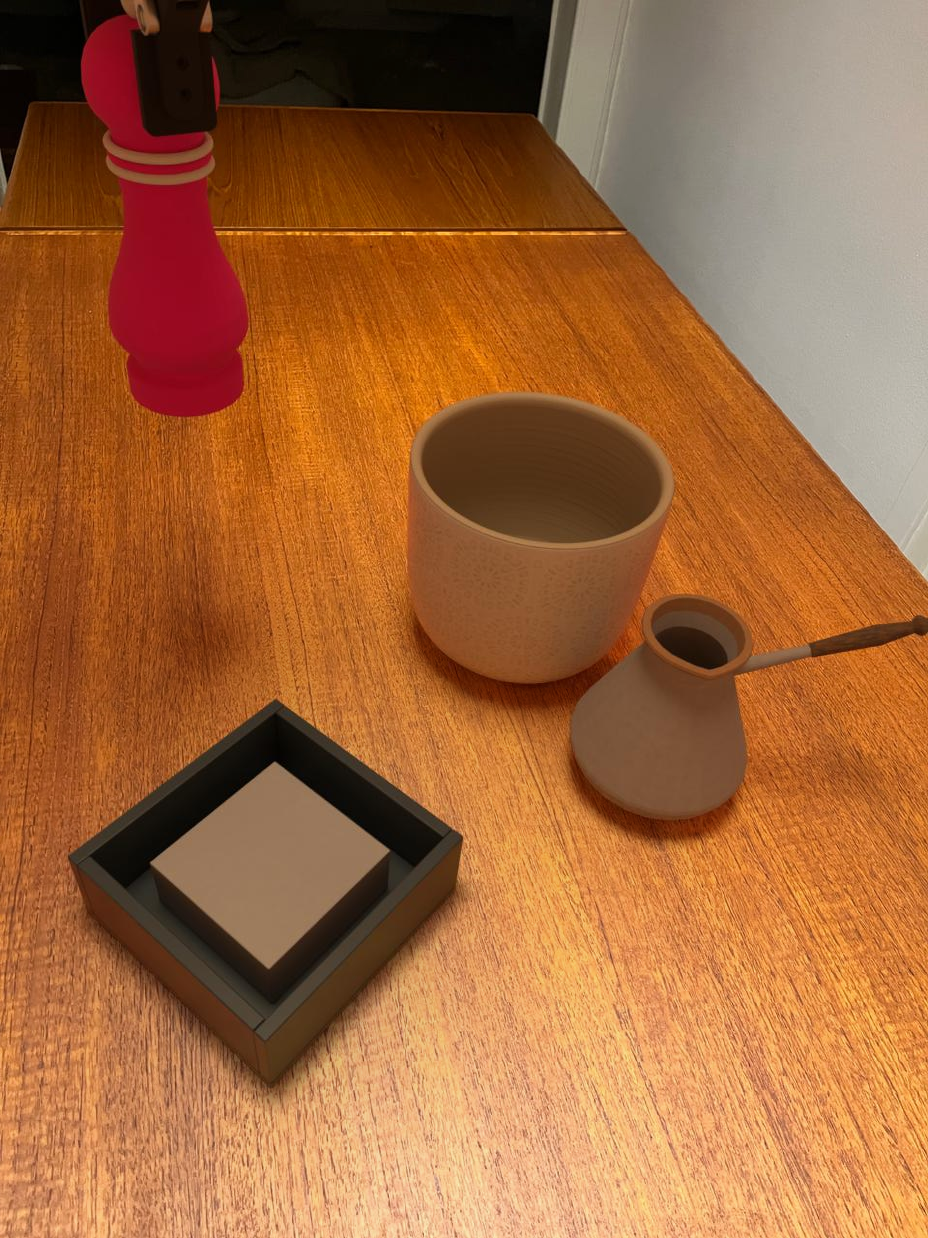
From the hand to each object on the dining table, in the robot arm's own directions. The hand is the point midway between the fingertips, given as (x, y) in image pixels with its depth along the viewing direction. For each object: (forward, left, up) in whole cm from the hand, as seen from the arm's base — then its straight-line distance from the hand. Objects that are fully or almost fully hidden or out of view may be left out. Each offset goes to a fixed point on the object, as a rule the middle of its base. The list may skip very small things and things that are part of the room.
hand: (152, 102), depth 45 cm
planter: (+15, +15, -36) cm, 41 cm away
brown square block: (+18, -12, -35) cm, 41 cm away
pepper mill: (0, 0, -15) cm, 15 cm away
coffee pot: (+33, +14, -36) cm, 50 cm away
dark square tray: (+18, -12, -35) cm, 41 cm away
